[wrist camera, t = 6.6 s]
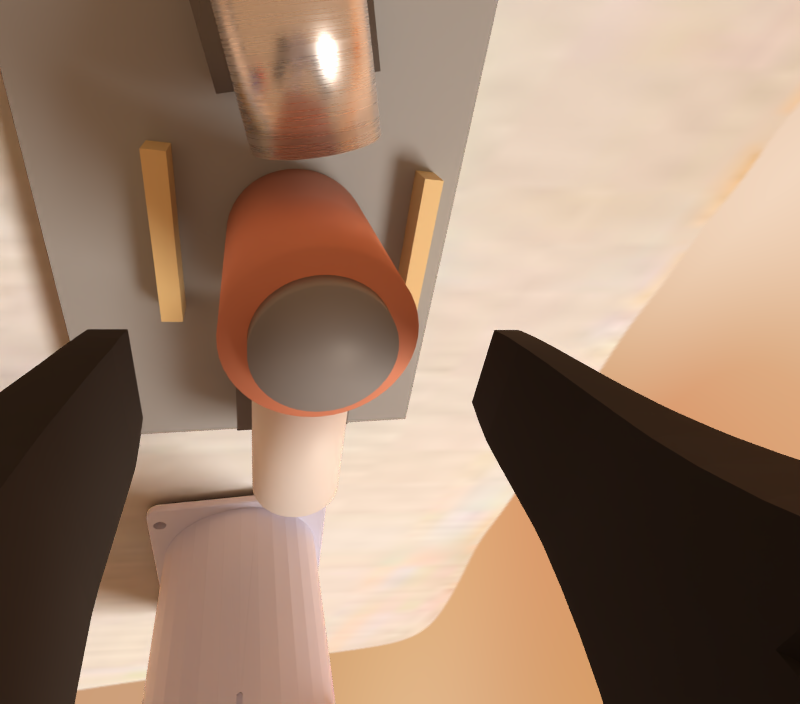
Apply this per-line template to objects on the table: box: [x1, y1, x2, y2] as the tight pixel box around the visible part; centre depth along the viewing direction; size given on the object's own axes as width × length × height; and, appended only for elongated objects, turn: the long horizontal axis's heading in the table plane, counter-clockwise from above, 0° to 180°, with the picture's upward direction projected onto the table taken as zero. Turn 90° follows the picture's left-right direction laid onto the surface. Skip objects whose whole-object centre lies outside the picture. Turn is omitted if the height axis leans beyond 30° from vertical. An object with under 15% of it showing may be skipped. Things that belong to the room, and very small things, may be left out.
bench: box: [0, 0, 498, 517], centre depth 13 cm, size 16×12×6 cm
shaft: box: [189, 0, 381, 160], centre depth 10 cm, size 4×4×4 cm
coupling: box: [216, 169, 419, 417], centre depth 13 cm, size 4×4×6 cm
